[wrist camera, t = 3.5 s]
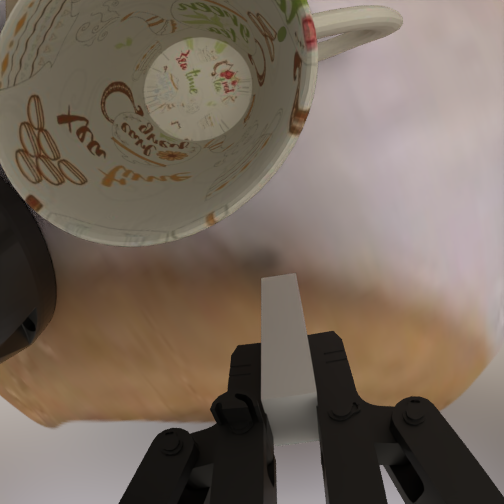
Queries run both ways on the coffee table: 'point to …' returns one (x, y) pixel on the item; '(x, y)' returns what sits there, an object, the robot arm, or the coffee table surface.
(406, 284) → the coffee table surface
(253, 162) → the mug
